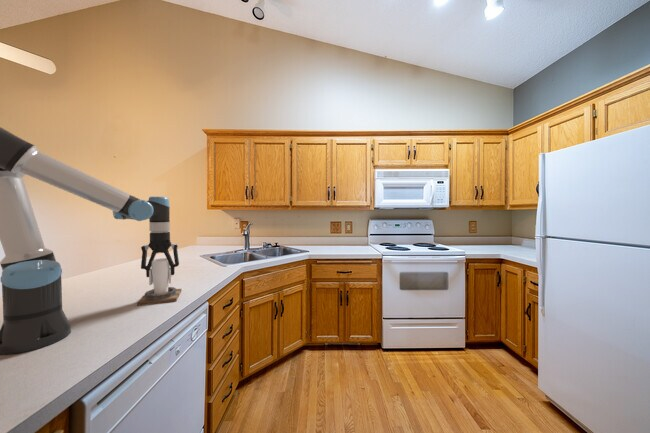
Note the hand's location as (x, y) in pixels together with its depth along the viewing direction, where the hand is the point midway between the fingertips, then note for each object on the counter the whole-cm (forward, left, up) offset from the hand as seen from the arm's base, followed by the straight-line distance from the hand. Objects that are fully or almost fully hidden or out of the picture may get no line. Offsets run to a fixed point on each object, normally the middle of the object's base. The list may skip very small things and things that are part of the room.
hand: (161, 283), depth 112 cm
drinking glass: (0, 0, -5) cm, 5 cm away
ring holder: (0, 0, -7) cm, 7 cm away
